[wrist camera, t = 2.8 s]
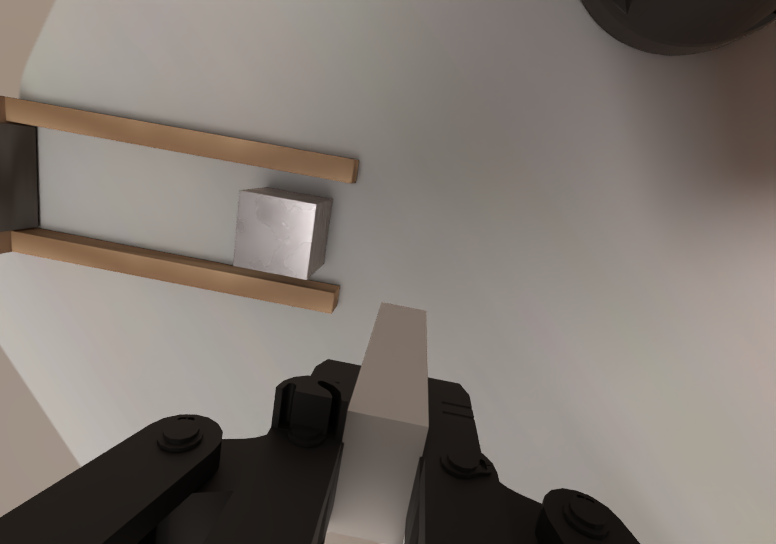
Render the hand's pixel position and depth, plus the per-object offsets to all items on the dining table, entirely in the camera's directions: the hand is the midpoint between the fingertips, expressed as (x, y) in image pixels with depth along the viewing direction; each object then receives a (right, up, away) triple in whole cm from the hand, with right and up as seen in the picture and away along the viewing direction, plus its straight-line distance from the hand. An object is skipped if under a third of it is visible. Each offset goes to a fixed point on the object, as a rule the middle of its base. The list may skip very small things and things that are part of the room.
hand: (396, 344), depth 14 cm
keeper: (-7, +6, +18) cm, 20 cm away
